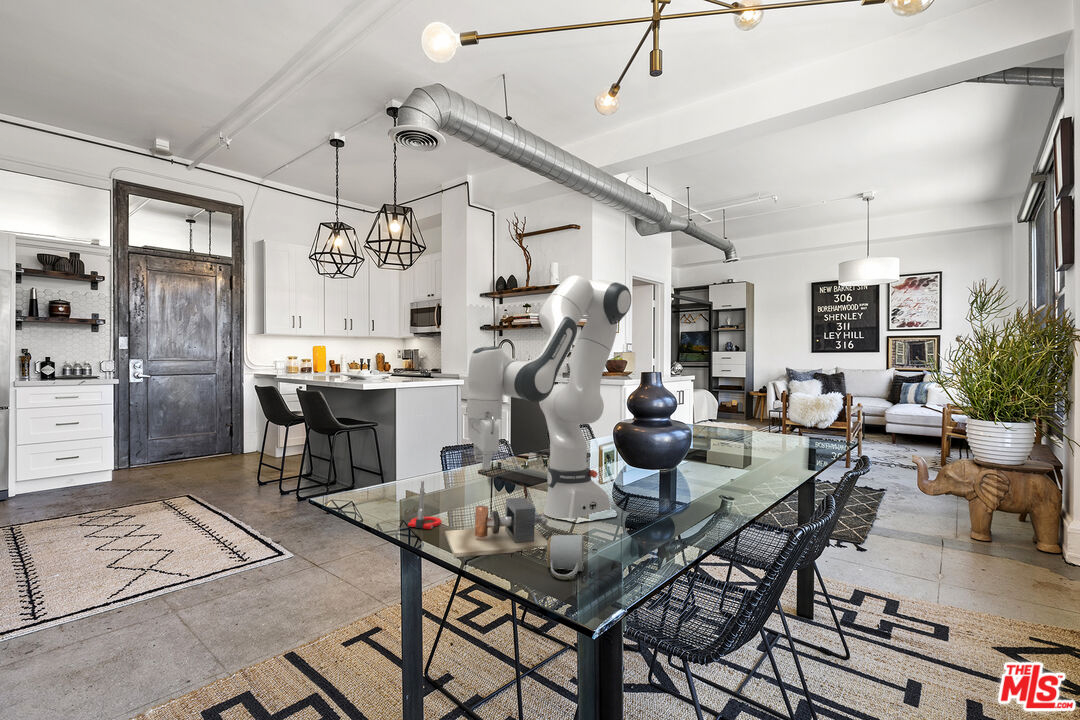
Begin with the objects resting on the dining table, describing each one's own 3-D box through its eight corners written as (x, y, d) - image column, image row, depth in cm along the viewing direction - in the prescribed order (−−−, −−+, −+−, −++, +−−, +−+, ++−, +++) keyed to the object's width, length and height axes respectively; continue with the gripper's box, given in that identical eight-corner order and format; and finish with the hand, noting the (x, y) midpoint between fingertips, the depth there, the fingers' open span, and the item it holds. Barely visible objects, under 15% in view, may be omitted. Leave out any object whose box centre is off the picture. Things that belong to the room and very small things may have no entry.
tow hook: (417, 519, 153) (404, 528, 143) (419, 474, 153) (406, 480, 144) (445, 522, 151) (433, 531, 142) (447, 476, 152) (436, 482, 143)
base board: (532, 528, 147) (532, 524, 147) (551, 548, 131) (551, 544, 131) (444, 534, 139) (444, 530, 139) (454, 557, 124) (454, 553, 124)
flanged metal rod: (541, 526, 142) (542, 500, 142) (548, 533, 137) (549, 506, 137) (472, 531, 136) (473, 504, 136) (477, 539, 131) (477, 511, 131)
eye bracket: (523, 528, 143) (524, 497, 143) (534, 541, 133) (535, 508, 133) (504, 530, 141) (505, 498, 141) (514, 543, 132) (516, 509, 131)
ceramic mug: (548, 560, 124) (549, 528, 124) (583, 563, 123) (584, 530, 123) (544, 580, 113) (545, 545, 113) (582, 583, 112) (583, 547, 112)
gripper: (506, 415, 125) (504, 473, 125) (488, 406, 144) (485, 457, 144) (480, 415, 123) (477, 474, 123) (465, 406, 142) (462, 457, 143)
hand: (482, 465), depth 134 cm, fingers open, 8 cm apart
